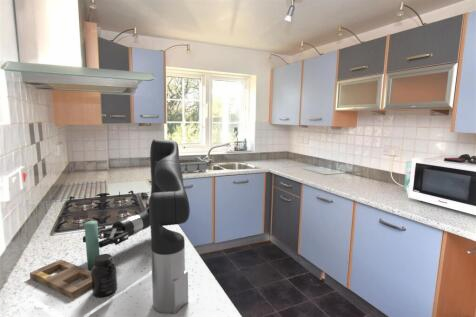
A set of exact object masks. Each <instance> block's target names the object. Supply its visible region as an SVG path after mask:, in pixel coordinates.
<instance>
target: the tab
mask: <svg viewBox="0 0 476 317" xmlns="http://www.w3.org/2000/svg"><path fill="white" fill-rule="evenodd" d="M78 266H79V267H82V268H84V269H87V270H89V271H91V270H92V269H89V268H88V264H87V261H86V262H84V263H83V264H80V265H78Z"/></svg>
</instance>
